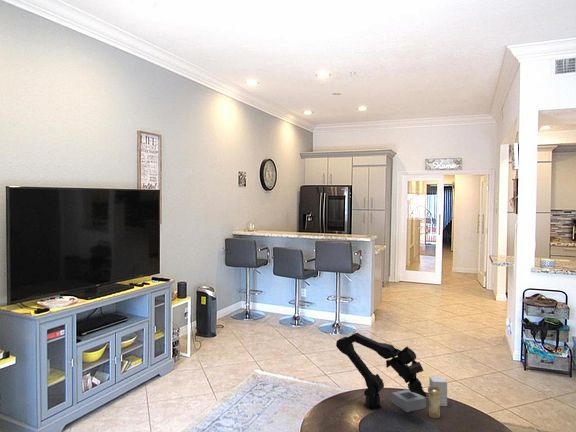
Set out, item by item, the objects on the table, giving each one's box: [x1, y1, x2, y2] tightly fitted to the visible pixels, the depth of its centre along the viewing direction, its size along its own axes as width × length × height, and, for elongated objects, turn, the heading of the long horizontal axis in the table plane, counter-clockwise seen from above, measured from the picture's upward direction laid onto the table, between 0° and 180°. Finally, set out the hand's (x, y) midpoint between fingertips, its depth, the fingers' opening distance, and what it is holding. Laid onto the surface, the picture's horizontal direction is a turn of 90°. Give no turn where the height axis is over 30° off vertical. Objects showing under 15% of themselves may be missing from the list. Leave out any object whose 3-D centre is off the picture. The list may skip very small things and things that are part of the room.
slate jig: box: [391, 388, 427, 413], centre depth 210 cm, size 12×12×5 cm
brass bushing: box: [427, 387, 441, 419], centre depth 198 cm, size 6×6×13 cm
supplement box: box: [428, 375, 448, 407], centre depth 212 cm, size 7×7×13 cm
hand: (424, 392), depth 199 cm, fingers open, 9 cm apart
